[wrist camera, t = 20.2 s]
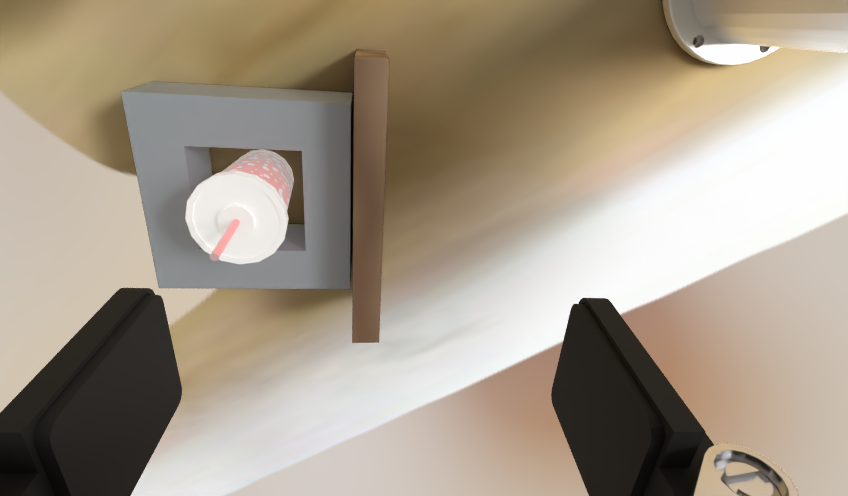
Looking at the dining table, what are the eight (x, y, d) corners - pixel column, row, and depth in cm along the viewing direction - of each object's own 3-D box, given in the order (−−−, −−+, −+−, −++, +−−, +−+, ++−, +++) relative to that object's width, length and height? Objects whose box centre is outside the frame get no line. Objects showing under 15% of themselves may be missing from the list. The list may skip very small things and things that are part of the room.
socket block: (352, 92, 36) (350, 103, 31) (351, 259, 42) (349, 289, 37) (153, 81, 34) (120, 91, 30) (182, 257, 40) (158, 288, 36)
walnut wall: (384, 51, 35) (389, 60, 28) (377, 288, 44) (379, 342, 36) (356, 49, 35) (354, 58, 28) (354, 288, 43) (352, 342, 36)
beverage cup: (287, 225, 40) (250, 320, 27) (213, 194, 38) (138, 282, 26) (315, 160, 38) (290, 232, 25) (239, 125, 36) (171, 183, 24)
